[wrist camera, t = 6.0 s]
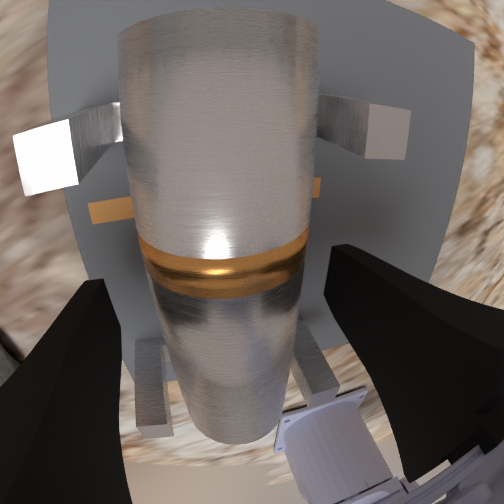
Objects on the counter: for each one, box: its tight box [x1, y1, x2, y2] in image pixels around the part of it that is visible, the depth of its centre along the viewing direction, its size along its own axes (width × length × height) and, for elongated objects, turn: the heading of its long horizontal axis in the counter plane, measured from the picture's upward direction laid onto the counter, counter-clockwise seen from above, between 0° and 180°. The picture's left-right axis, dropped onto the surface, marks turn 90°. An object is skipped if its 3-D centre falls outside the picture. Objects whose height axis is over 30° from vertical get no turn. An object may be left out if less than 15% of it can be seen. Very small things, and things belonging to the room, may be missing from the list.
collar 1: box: [13, 93, 411, 196], centre depth 7 cm, size 1×8×4 cm, turn 90°
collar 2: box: [135, 314, 340, 439], centre depth 12 cm, size 1×8×4 cm, turn 90°
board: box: [47, 0, 474, 382], centre depth 12 cm, size 18×18×1 cm
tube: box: [117, 7, 320, 444], centre depth 9 cm, size 14×4×4 cm, turn 0°
